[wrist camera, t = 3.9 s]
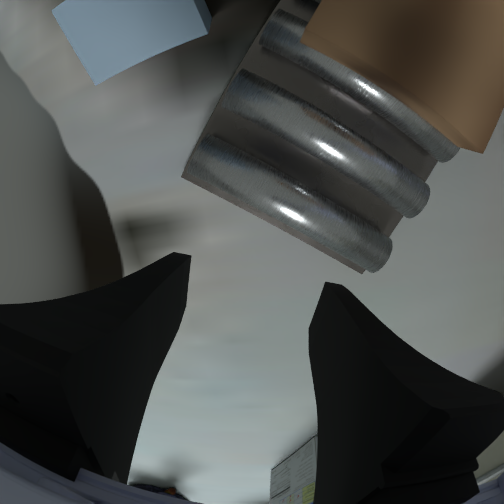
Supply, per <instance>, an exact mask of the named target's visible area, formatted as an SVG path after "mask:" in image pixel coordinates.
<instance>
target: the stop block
mask: <svg viewBox="0 0 504 504" xmlns="http://www.w3.org/2000/svg"><path fill="white" fill-rule="evenodd" d="M52 13H53V15H54V16H55V18H56V20H57V22H58V23H59V25H60V27H61V29H62V30H63V32H64V34H65V35H66V37H67V39H68V41H69V42H70V44H71V46H72V47H73V49H74V51H75V52H76V54H77V56H78V57H79V59H80V61H81V62H82V64H83V66H84V67H85V69H86V71H87V72H88V74H89V76H90V77H91V79H92V80H93V82H94V84H95V85H98V84H100V83H101V82H103V81H105V80H107V79H108V78H110V77H112V76H114V75H116V74H118V73H120V72H122V71H123V70H125V69H127V68H129V67H131V66H133V65H135V64H137V63H139V62H142V61H144V60H146V59H148V58H150V57H152V56H154V55H157V54H159V53H161V52H163V51H166V50H168V49H170V48H173V47H175V46H178V45H180V44H183V43H185V42H188V41H190V40H193V39H195V38H198V37H201V36H204V35H206V34H208V32H209V28H210V24H211V20H212V17H211V14H210V12H209V10H208V7H207V5H206V2H205V0H65V1H64V2H63V3H61V4H60V5H58V6H57V7H56V8H54V9H53V10H52Z"/></svg>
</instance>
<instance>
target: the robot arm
mask: <svg viewBox="0 0 504 504" xmlns="http://www.w3.org/2000/svg"><path fill="white" fill-rule="evenodd" d="M190 263H191V255H186V254H181V253H176V252H173V253H171V254H169V255H167V256H165V257H163V258H161V259H159V260H157V261H156V262H154V263H152V264H150V265H148V266H146V267H144V268H142V269H141V270H139V271H137V272H134V273H132V274H130V275H128V276H126V277H124V278H122V279H119V280H117V281H115V282H112V283H110V284H107V285H105V286H102V287H99V288H96V289H94V290H90V291H87V292H83V293H79V294H75V295H71V296H67V297H63V298H59V299H53V300H47V301H41V302H33V303H23V304H0V504H202V503H197V502H192V501H187V500H182V499H178V498H173V497H169V496H165V495H161V494H157V493H153V492H150V491H146V490H143V489H139V488H136V487H133V486H129V485H127V481H128V476H129V471H130V467H131V462H132V458H133V454H134V450H135V446H136V442H137V438H138V434H139V430H140V426H141V423H142V419H143V416H144V412H145V409H146V406H147V403H148V399H149V396H150V393H151V390H152V387H153V384H154V382H155V379H156V377H157V374H158V372H159V370H160V368H161V366H162V364H163V362H164V359H165V357H166V355H167V353H168V351H169V349H170V347H171V345H172V342H173V340H174V338H175V336H176V334H177V332H178V329H179V327H180V324H181V321H182V317H183V314H184V311H185V308H186V302H187V292H188V282H189V272H190ZM309 357H310V364H311V371H312V377H313V384H314V391H315V397H316V404H317V417H318V444H317V468H316V481H315V492H314V500H313V504H504V472H503V473H502V474H501V475H500V476H499V477H498V478H497V479H495V480H492V481H489V482H487V483H484V484H481V485H478V484H477V481H476V478H475V475H474V471H476V470H477V469H478V468H479V464H478V461H477V459H476V458H477V457H478V456H479V455H480V454H481V453H482V452H483V451H484V450H485V449H486V448H488V447H489V446H490V445H491V444H492V443H493V442H494V441H495V440H496V439H497V438H498V437H499V435H500V434H501V433H502V432H503V431H504V398H503V396H502V395H501V394H500V393H499V392H497V391H494V390H492V389H489V388H486V387H484V386H481V385H478V384H476V383H473V382H471V381H469V380H467V379H465V378H463V377H460V376H458V375H456V374H454V373H452V372H451V371H449V370H447V369H445V368H443V367H441V366H440V365H438V364H437V363H435V362H433V361H432V360H430V359H428V358H427V357H425V356H424V355H422V354H421V353H419V352H418V351H417V350H415V349H414V348H412V347H411V346H410V345H408V344H407V343H406V342H404V341H403V340H402V339H401V338H399V337H398V336H397V335H396V334H395V333H393V332H392V331H391V330H390V329H389V328H388V327H387V326H386V325H384V324H383V323H382V322H381V321H380V320H379V319H378V318H377V317H376V316H375V315H374V314H373V313H372V312H371V311H370V310H369V309H368V308H367V307H366V306H365V305H364V304H363V303H361V302H360V301H359V300H358V299H357V298H356V297H355V296H354V295H353V294H352V293H351V292H350V291H349V290H348V289H347V288H346V287H344V286H343V285H340V284H335V283H330V282H325V284H324V287H323V290H322V293H321V296H320V299H319V301H318V304H317V307H316V310H315V313H314V315H313V318H312V321H311V324H310V326H309Z"/></svg>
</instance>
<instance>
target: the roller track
mask: <svg viewBox="0 0 504 504" xmlns="http://www.w3.org/2000/svg"><path fill="white" fill-rule="evenodd" d="M321 1H322V0H280V2H279V3H278V5H277V6H276V8H275V9H274V11H273V12H272V14H271V15H270V17H269V18H268V20H267V21H266V23H265V24H264V26H263V27H262V29H261V31H260V32H259V34H258V35H257V37H256V39H255V40H254V42H253V43H252V45H251V47H250V48H249V50H248V52H247V53H246V55H245V57H244V58H243V60H242V62H241V63H240V65H239V67H238V68H237V70H236V72H235V74H234V75H233V77H232V79H231V81H230V82H229V84H228V86H227V88H226V90H225V91H224V93H223V95H222V97H221V99H220V100H219V102H218V104H217V106H216V108H215V110H214V112H213V113H212V115H211V117H210V119H209V121H208V123H207V125H206V127H205V129H204V131H203V133H202V135H201V137H200V139H199V141H198V143H197V145H196V147H195V149H194V151H193V153H192V155H191V157H190V159H189V161H188V163H187V165H186V167H185V169H184V171H183V174H182V176H181V177H182V178H184V179H186V180H188V181H190V182H192V183H194V184H196V185H198V186H200V187H202V188H204V189H206V190H208V191H210V192H211V193H213V194H215V195H217V196H219V197H221V198H223V199H225V200H227V201H229V202H231V203H233V204H235V205H236V206H238V207H240V208H242V209H244V210H246V211H248V212H250V213H252V214H253V215H255V216H257V217H259V218H261V219H263V220H265V221H267V222H268V223H270V224H272V225H274V226H276V227H278V228H280V229H281V230H283V231H285V232H287V233H289V234H291V235H293V236H294V237H296V238H298V239H300V240H302V241H303V242H305V243H307V244H309V245H311V246H313V247H314V248H316V249H318V250H320V251H322V252H323V253H325V254H327V255H329V256H331V257H332V258H334V259H336V260H338V261H339V262H341V263H343V264H345V265H347V266H348V267H350V268H352V269H354V270H355V271H357V272H359V273H361V274H363V272H364V271H365V270H367V271H369V272H371V273H374V272H377V271H378V270H380V269H381V268H382V267H383V266H384V265H385V263H386V262H387V260H388V259H389V257H390V254H391V251H392V240H391V239H390V238H389V236H390V235H391V233H392V232H393V230H394V229H395V227H396V226H397V225H398V223H399V222H400V220H401V219H402V217H403V216H405V217H406V218H413V217H415V216H416V215H418V214H419V213H420V212H421V211H422V210H423V208H424V207H425V205H426V204H427V202H428V199H429V196H430V188H429V186H428V185H427V184H426V183H425V181H426V180H427V178H428V176H429V175H430V173H431V171H432V170H433V168H434V167H435V165H436V163H437V161H439V162H442V163H443V162H447V161H449V160H450V159H452V158H453V157H454V156H455V155H456V153H457V152H458V151H459V149H460V147H457V146H456V145H455V144H454V143H453V142H452V141H451V140H449V139H448V138H447V137H446V136H445V135H443V134H442V133H441V132H440V131H439V130H437V129H436V128H435V127H434V126H432V125H431V124H430V123H429V122H427V121H426V120H425V119H423V118H422V117H421V116H419V115H418V114H417V113H415V112H414V111H413V110H411V109H410V108H409V107H407V106H406V105H405V104H403V103H402V102H400V101H399V100H398V99H396V98H395V97H393V96H392V95H390V94H389V93H387V92H386V91H384V90H383V89H381V88H380V87H378V86H377V85H375V84H374V83H372V82H370V81H369V80H367V79H366V78H364V77H362V76H361V75H359V74H357V73H356V72H354V71H352V70H351V69H349V68H347V67H346V66H344V65H342V64H340V63H338V62H337V61H335V60H333V59H331V58H329V57H328V56H326V55H324V54H322V53H320V52H318V51H316V50H314V49H312V48H310V47H308V46H306V45H304V44H302V43H300V40H301V38H302V35H303V33H304V30H305V28H306V26H307V25H308V23H309V21H310V19H311V18H312V16H313V14H314V13H315V11H316V9H317V8H318V6H319V4H320V3H321Z"/></svg>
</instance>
